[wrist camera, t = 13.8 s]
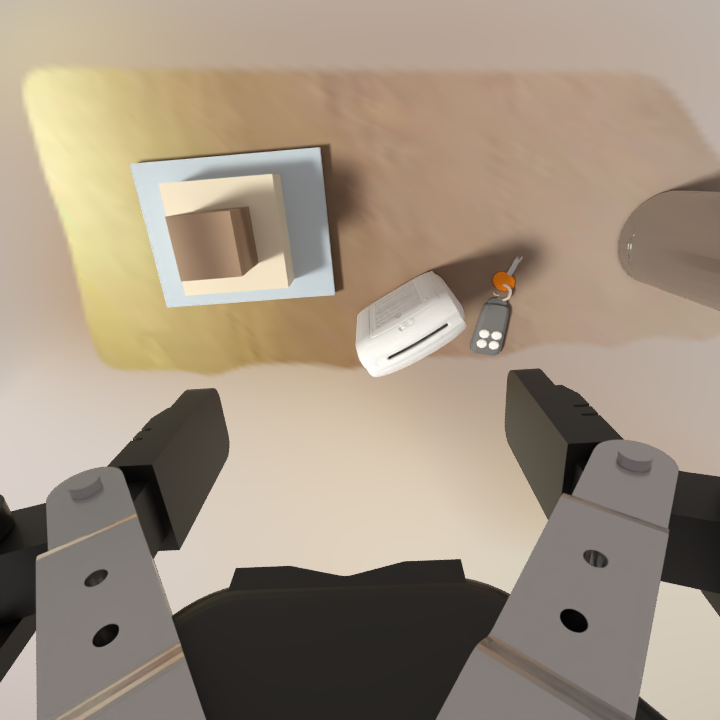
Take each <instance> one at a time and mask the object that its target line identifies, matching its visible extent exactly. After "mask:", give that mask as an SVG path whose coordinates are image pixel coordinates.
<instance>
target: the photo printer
mask: <svg viewBox="0 0 720 720" xmlns="http://www.w3.org/2000/svg"><path fill="white" fill-rule="evenodd" d="M466 327H467V326H466V324H465V322H464V310H463V307H462V306H461V304H460V302H459V301H458V300H457V298H456V297H455V296H454V294H453V293H452V291H451V290H450V289H449V287H448V286H447V285H446V283H445V282H444V281H443V279H442V278H441V277H440V276H438V275H436V274H434V272H433V271H430V272H427V273H424V274H422V275H420V276H418V277H416V278H414V279H412V280H410V281H409V282H407V283H405V284H403V285H402V286H400V287H398V288H397V289H395V290H393V291H391V292H390V293H388V294H387V295H385V296H383V297H382V298H380V299H378V300H377V301H375V302H373V303H372V304H370V305H369V306H367V307H366V308H365V309H363V310H362V311H361V312H360V313H359V314H358V316H357V332H356V350H357V353H358V357H359V359H360V361H361V363H362V365H363V366H364V367H365V368H366V369H367V370H368V372H369V374H370V375H371V376H373V377H379V376H384V375H388V374H390V373H393V372H396V371H398V370H400V369H402V368H404V367H407V366H409V365H411V364H413V363H415V362H417V361H419V360H421V359H422V358H424V357H426V356H428V355H430V354H431V353H433V352H435V351H436V350H438V349H439V348H441V347H443V346H444V345H446V344H447V343H449V342H450V341H452V340H453V339H454V338H456V337H457V336H458V335H459V334H460V333H461V332H462V331H463V330H464V329H465V328H466Z"/></svg>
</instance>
